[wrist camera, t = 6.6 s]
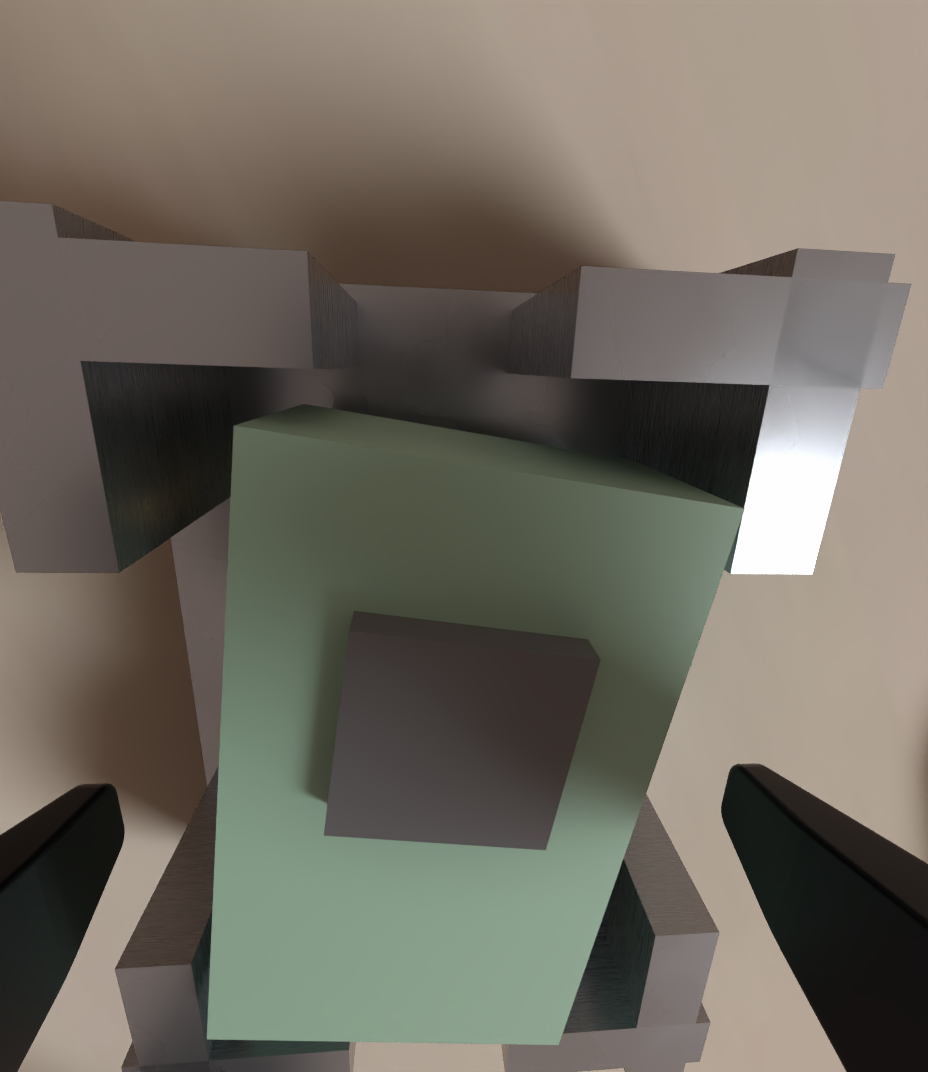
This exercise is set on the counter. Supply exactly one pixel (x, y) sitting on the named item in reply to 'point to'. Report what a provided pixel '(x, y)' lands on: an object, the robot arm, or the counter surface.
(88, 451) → the chassis
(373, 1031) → the green block
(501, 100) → the counter surface
